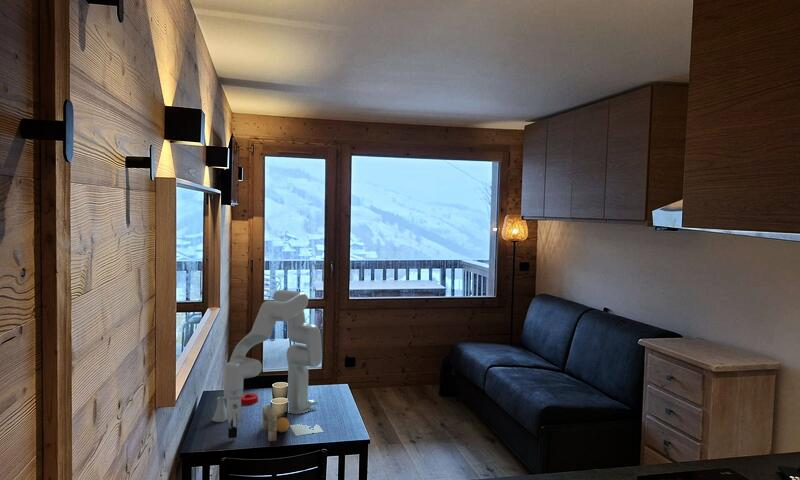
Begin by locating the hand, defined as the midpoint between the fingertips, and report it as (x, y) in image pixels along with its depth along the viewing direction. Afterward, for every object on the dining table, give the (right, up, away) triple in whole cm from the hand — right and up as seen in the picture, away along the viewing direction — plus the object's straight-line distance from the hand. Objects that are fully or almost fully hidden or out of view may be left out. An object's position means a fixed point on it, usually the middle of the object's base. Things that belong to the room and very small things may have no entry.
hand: (232, 437), depth 212 cm
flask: (-12, -1, +22) cm, 25 cm away
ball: (+18, +1, +10) cm, 21 cm away
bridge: (+13, -2, +7) cm, 15 cm away
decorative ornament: (-7, 0, +46) cm, 47 cm away
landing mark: (+28, -2, +14) cm, 31 cm away
